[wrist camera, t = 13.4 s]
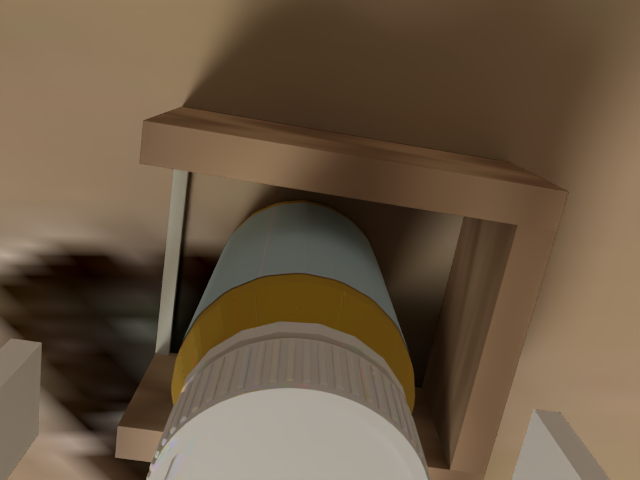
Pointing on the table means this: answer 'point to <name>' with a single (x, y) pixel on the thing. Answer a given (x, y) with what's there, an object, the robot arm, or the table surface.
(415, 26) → the table surface
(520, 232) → the u rest
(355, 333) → the bottle
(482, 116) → the table surface
